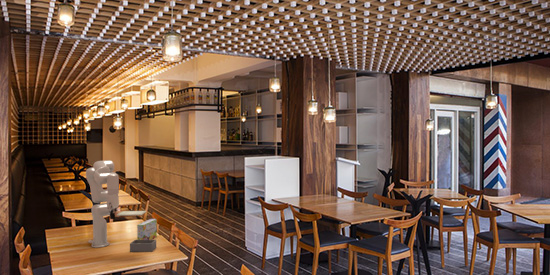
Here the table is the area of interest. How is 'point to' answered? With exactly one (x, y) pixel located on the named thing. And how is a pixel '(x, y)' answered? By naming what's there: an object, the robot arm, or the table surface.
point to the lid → (128, 213)
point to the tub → (143, 246)
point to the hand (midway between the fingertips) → (113, 218)
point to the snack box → (147, 230)
